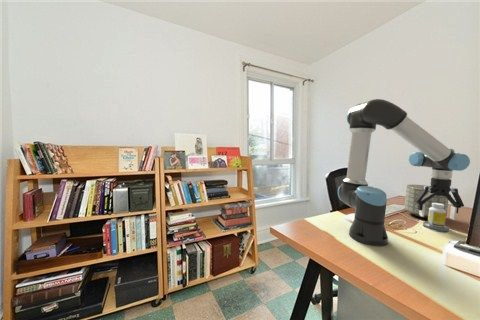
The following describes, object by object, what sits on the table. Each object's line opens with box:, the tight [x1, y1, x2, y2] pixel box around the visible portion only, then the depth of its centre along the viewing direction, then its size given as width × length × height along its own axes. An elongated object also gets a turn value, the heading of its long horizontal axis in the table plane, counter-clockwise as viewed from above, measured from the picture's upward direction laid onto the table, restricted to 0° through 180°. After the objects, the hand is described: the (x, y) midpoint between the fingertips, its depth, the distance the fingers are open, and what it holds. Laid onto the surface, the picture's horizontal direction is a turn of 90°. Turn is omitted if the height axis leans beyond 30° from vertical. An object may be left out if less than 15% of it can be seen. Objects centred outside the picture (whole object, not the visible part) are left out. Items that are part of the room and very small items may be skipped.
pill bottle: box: [427, 203, 447, 227], centre depth 104 cm, size 6×6×12 cm
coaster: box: [422, 220, 451, 233], centre depth 105 cm, size 10×10×2 cm
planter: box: [404, 184, 449, 220], centre depth 121 cm, size 19×19×18 cm
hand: (436, 217), depth 104 cm, fingers open, 13 cm apart
